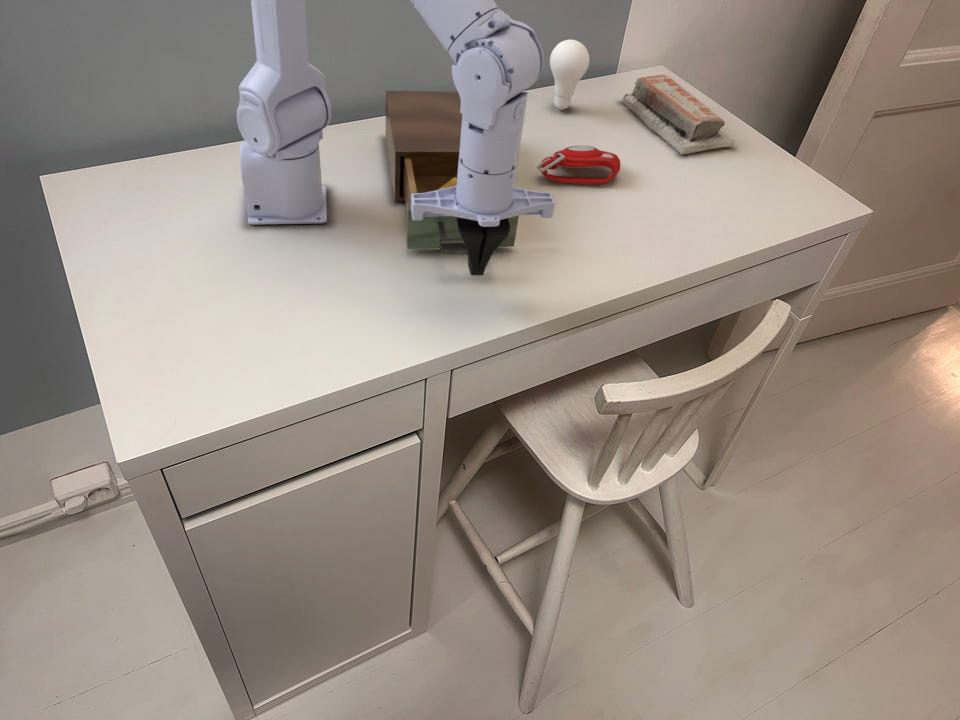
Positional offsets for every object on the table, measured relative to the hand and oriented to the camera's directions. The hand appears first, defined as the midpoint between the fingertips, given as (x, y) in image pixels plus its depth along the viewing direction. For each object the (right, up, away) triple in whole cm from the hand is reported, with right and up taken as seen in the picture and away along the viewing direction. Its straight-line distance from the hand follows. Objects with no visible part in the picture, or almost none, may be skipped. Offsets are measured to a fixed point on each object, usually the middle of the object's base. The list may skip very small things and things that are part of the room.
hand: (475, 269), depth 80 cm
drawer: (-3, +7, +12) cm, 15 cm away
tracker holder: (+14, +17, +25) cm, 34 cm away
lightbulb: (+14, +31, +39) cm, 52 cm away
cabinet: (-5, +17, +23) cm, 29 cm away
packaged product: (+32, +28, +39) cm, 58 cm away
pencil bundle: (-3, +9, +12) cm, 15 cm away
